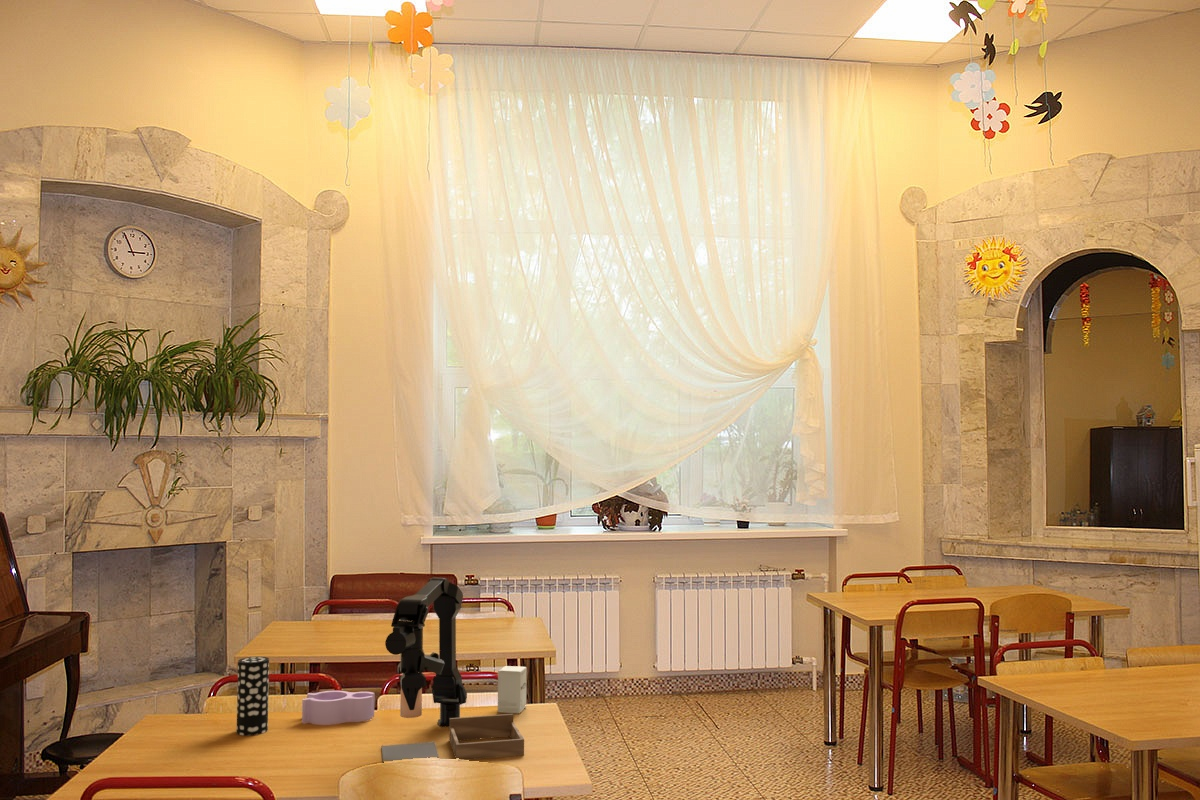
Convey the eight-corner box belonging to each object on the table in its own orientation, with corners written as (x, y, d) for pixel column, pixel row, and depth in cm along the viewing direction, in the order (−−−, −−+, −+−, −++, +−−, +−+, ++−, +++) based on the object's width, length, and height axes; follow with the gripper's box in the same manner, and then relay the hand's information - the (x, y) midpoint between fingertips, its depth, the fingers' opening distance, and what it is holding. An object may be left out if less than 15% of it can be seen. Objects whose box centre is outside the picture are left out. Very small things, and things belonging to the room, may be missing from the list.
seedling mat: (381, 747, 251) (381, 745, 251) (434, 743, 255) (434, 741, 255) (383, 764, 238) (383, 762, 238) (439, 759, 242) (439, 757, 242)
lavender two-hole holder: (376, 712, 286) (376, 689, 287) (370, 724, 274) (370, 700, 274) (308, 714, 285) (309, 691, 285) (299, 726, 272) (300, 701, 273)
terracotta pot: (399, 713, 249) (400, 680, 250) (420, 711, 250) (421, 678, 251) (400, 718, 244) (401, 684, 244) (422, 717, 245) (422, 683, 246)
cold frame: (449, 740, 258) (449, 718, 258) (512, 735, 262) (512, 713, 263) (456, 760, 241) (456, 736, 241) (524, 755, 245) (524, 731, 246)
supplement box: (520, 714, 284) (520, 671, 285) (496, 712, 286) (497, 670, 287) (527, 707, 292) (527, 666, 292) (504, 706, 293) (504, 665, 294)
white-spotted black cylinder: (229, 733, 264) (231, 661, 266) (251, 725, 272) (252, 655, 273) (253, 736, 261) (254, 664, 262) (274, 728, 269) (275, 658, 270)
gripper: (446, 652, 241) (445, 714, 240) (439, 638, 259) (438, 696, 258) (401, 654, 238) (401, 717, 237) (397, 640, 256) (397, 699, 255)
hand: (411, 707), depth 247 cm, fingers closed on terracotta pot, 5 cm apart
